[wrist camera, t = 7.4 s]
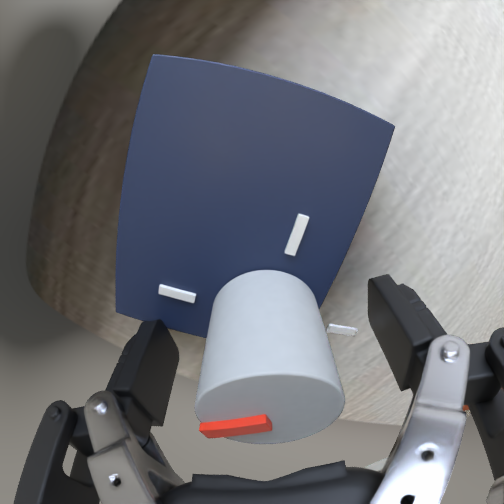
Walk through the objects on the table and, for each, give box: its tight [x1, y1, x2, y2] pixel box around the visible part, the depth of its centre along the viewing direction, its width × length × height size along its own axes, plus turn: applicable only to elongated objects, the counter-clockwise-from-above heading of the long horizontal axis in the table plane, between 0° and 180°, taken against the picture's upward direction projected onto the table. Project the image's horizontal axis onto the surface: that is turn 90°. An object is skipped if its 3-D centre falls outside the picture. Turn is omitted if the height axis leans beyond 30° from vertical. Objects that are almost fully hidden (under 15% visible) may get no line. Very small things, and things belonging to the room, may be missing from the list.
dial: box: [195, 270, 345, 444], centre depth 8 cm, size 4×4×5 cm
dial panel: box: [116, 54, 395, 338], centre depth 11 cm, size 12×10×3 cm
